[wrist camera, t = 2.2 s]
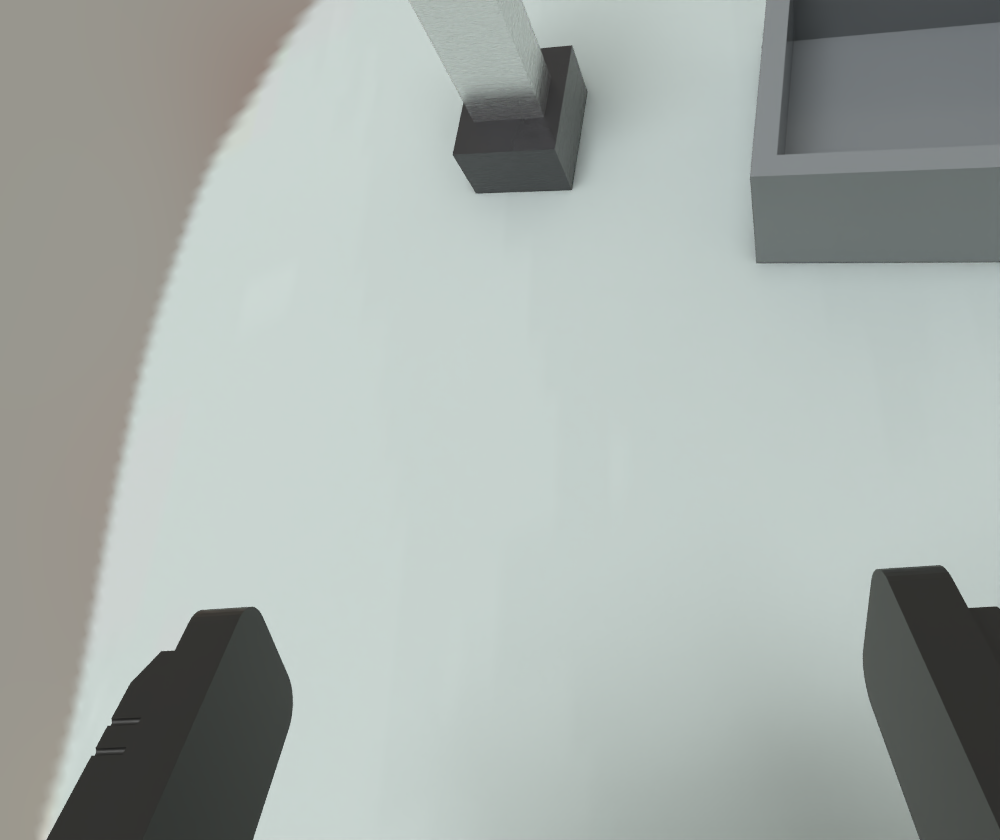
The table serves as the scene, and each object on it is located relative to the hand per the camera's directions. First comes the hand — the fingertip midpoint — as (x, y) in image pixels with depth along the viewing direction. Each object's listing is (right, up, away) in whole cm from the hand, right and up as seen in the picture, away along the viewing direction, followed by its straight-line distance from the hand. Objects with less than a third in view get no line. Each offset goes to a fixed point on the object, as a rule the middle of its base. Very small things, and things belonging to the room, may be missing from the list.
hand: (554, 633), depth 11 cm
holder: (+15, +14, +22) cm, 30 cm away
